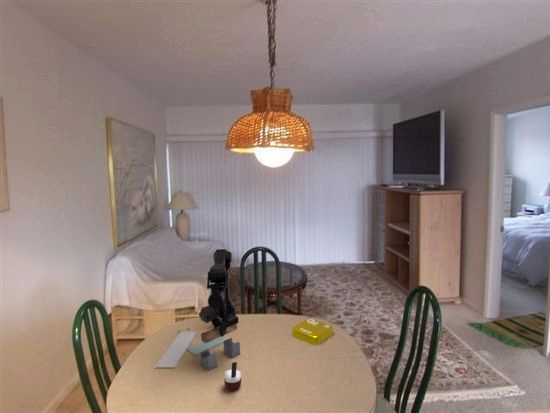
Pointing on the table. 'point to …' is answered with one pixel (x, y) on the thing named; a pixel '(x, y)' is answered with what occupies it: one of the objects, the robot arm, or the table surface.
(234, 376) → the cupcake
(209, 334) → the rail
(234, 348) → the grey block
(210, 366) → the grey notched block
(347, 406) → the table surface
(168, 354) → the baseboard
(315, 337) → the element tile
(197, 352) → the mat
